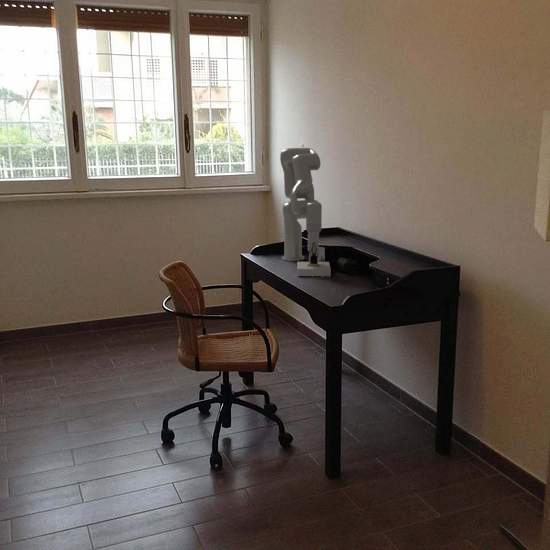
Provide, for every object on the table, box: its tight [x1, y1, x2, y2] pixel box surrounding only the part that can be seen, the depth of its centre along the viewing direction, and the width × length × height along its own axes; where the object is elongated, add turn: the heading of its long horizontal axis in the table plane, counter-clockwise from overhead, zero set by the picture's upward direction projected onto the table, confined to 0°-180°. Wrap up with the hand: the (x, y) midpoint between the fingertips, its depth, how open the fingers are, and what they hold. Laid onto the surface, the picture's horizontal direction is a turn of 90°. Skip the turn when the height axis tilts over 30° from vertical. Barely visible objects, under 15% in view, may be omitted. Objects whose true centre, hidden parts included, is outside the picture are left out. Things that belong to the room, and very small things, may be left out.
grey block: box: [317, 246, 326, 262], centre depth 328 cm, size 7×7×10 cm
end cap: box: [336, 256, 358, 275], centre depth 317 cm, size 10×7×7 cm
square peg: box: [308, 252, 318, 267], centre depth 315 cm, size 4×4×10 cm
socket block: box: [296, 261, 332, 278], centre depth 315 cm, size 16×16×4 cm
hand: (313, 261), depth 314 cm, fingers open, 9 cm apart
